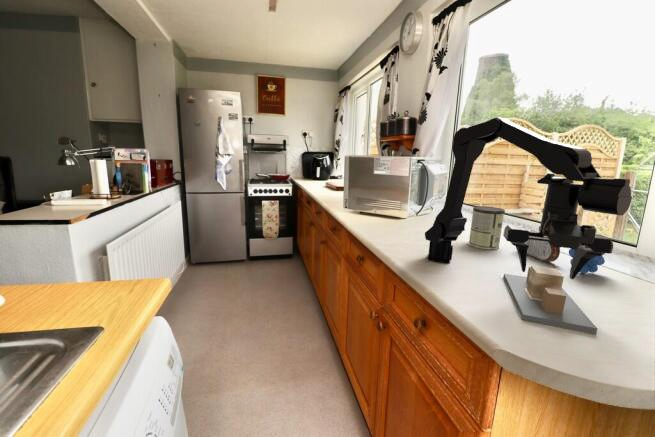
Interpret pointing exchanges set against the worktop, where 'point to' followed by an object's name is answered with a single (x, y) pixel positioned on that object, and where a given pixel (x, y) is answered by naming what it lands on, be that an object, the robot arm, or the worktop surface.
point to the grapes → (589, 263)
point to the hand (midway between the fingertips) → (546, 275)
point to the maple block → (543, 280)
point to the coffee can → (486, 227)
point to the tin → (542, 250)
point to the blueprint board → (547, 317)
